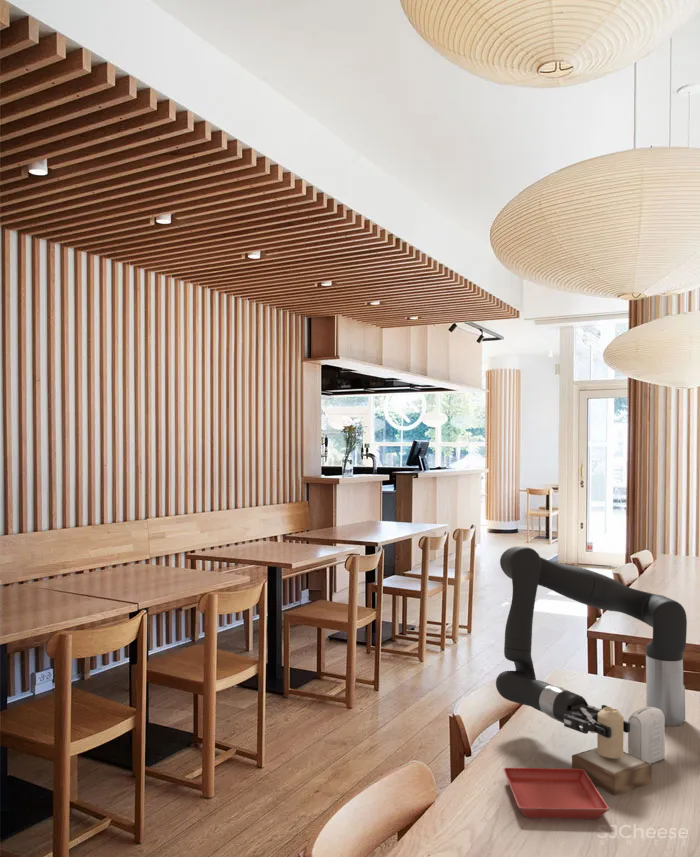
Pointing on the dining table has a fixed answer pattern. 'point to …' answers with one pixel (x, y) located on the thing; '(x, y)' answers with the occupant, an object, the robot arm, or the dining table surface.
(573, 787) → the plant saucer
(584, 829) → the dining table surface
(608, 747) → the candle
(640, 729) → the photo printer
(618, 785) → the stand
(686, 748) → the dining table surface
